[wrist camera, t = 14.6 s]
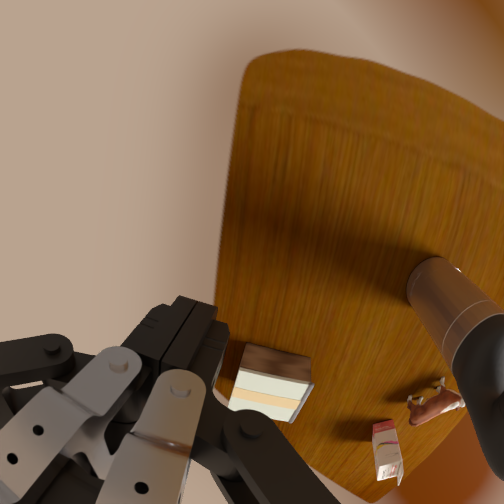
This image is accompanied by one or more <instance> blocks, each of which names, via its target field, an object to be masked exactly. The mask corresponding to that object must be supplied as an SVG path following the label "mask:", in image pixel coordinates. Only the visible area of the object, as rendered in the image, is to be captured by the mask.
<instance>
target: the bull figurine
mask: <svg viewBox="0 0 504 504" xmlns="http://www.w3.org/2000/svg"><path fill="white" fill-rule="evenodd" d="M444 379H445V377H442V378H441V380H440V383H441V386H438V387H437V389H436V391H437V392H438V393H439V394H438V395H436V396H433V397H431V398H429V399H428V398H427V399H426V401H425V403H424V404H423V405H421V406H420V403H421V401H422V399H423V397H420V398H419V400H417V405H414V404H413V403H412V401H411V399H412V395H409V396H408V399H407V401H408V406H407V408H408V409H410V411H411V413H410V418H409V424H410V425H411V426H418V425H420V424H422V423H424V422H427V421H429V420H430V419H432V418H434V417H435V416H438V415H439V414H441V413H444V412H447V411H449V410H450V409H455V408H456V411H458V410H459V408H460V407H464V406H465V402H464V400H463V398H462V396H461V394H460V393H457V392H456V391H454V390H451V389H446V388H445V385H444ZM440 388H441V389H440Z"/></svg>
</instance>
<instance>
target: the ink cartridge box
mask: <svg viewBox="0 0 504 504" xmlns="http://www.w3.org/2000/svg"><path fill="white" fill-rule="evenodd" d="M372 443H373V449H374V456H375V464H376V473H377V481H378V480H383V479H387V478H390V477H394V476H397V478H398V486H399V484H400V481H401V478H402V475H403V463H402V457H401V452H400V447H399V443H398V439H397V434H396V430H395V426H394V422H393V419H392V420H388V421H384V422H380V423H376V424H373V437H372ZM400 473H401V474H400Z"/></svg>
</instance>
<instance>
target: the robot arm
mask: <svg viewBox="0 0 504 504" xmlns="http://www.w3.org/2000/svg"><path fill="white" fill-rule="evenodd" d="M406 294H407V298H408V301H409V303H410V304H411V306H412V307H413V309H414V310H415V312H416V314H417V315H418V317H419V318H420V320H421V322H422V323H423V325H424V326H425V328H426V329H427V331H428V333H429V334H430V336H431V338H432V339H433V341H434V343H435V344H436V346H437V348H438V349H439V351H440V353H441V354H442V356H443V358H444V359H445V361H446V363H447V365H448V366H449V368H450V370H451V372H452V374H453V376H454V377H455V379H456V381H457V385H458V389H459V392H460V394H461V396H462V398H463V400H464V402H465V405H466V407H467V409H468V412H469V414H470V417H471V420H472V422H473V425H474V428H475V431H476V434H477V437H478V440H479V442H480V445H481V448H482V451H483V453H484V456H485V458H486V460H487V462H488V464H489V466H490V468H491V469H492V471H493V472H494V473H495V475H496V476H498V477H499V478H500V479H501V480H503V481H504V311H503V310H502V309H501V308H500V307H499V306H498V305H497V304H496V303H495V302H494V301H493V300H492V299H491V298H490V297H489V296H488V295H486V294H485V293H484V292H483V291H482V290H481V289H480V288H479V287H478V286H477V285H476V284H474V283H473V282H472V281H471V280H470V279H469V278H468V277H466V276H465V275H464V274H463V273H462V272H461V271H460V270H458V269H457V268H456V267H455V266H454V265H452V264H451V263H450V262H449V261H447V260H446V259H444V258H441V257H433V258H429V259H427V260H425V261H423V262H422V263H420V264H419V265H418V266H417V267H416V268H415V269H414V271H413V272H412V273H411V275H410V277H409V280H408V283H407V288H406ZM217 311H218V307H216V306H213V305H210V304H206V303H203V302H200V301H199V302H198V301H196V300H193V299H189V298H186V297H183V296H180V295H179V296H178V297H177V298H176V300H175V301H174V302H173V304H172V305H171V306H169V305H166V304H161V305H158V306H156V307H154V308H152V309H151V310H150V311H149V313H148V314H147V315H146V317H145V318H143V320H142V321H141V322H140V324H139V325H137V327H136V328H135V329H134V330H133V331H132V333H131V334H130V335H129V336H128V337H127V339H126V340H125V341H124V342H123V343H122V345H121V346H114V347H109V348H106V349H104V350H102V351H101V352H100V353H99V354H98V355H97V356H95V355H88V354H84V353H79V352H74V350H73V345H72V343H71V342H70V340H69V339H68V338H67V337H65V336H63V335H60V334H46V335H40V336H35V337H29V338H23V339H17V340H11V341H5V342H0V504H181V502H182V497H183V493H184V488H185V484H186V479H187V475H188V472H189V467H190V463H191V459H193V460H194V461H196V462H197V463H199V464H201V465H202V466H204V467H205V468H207V469H209V470H210V473H211V475H212V477H213V478H214V480H215V482H216V484H217V486H218V487H219V489H220V491H221V492H222V494H223V495H224V497H225V499H226V500H227V502H228V504H341V503H340V502H339V501H338V500H337V499H336V498H335V497H334V496H333V494H332V493H331V492H330V491H329V490H328V489H327V488H326V487H325V485H324V484H323V483H322V482H321V481H320V480H319V478H318V477H317V476H316V475H315V474H314V472H312V470H311V469H310V468H309V466H308V465H307V464H306V463H305V462H304V460H303V459H302V458H301V457H300V455H299V454H298V453H297V452H296V450H295V449H294V448H293V447H292V445H291V444H290V443H289V442H288V440H287V439H286V438H285V436H284V435H283V434H282V432H281V431H280V430H279V429H278V427H277V426H276V425H275V423H274V422H273V421H272V420H271V419H270V418H269V417H268V416H267V415H265V414H264V413H261V412H259V411H256V410H251V409H242V410H237V411H233V410H231V409H229V408H227V407H226V406H224V405H223V404H221V403H220V402H219V401H218V400H217V399H216V398H215V396H214V394H213V389H214V386H215V383H216V380H217V377H218V375H219V372H220V369H221V366H222V363H223V359H224V355H225V351H226V347H227V343H228V339H229V335H230V332H229V328H228V325H227V323H223V322H220V321H217V320H216V316H217ZM41 380H42V382H43V384H42V385H37V386H33V387H27V388H21V389H13V388H11V387H10V386H15V385H20V384H26V383H31V382H36V381H41Z"/></svg>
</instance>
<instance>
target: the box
mask: <svg viewBox="0 0 504 504" xmlns="http://www.w3.org/2000/svg"><path fill="white" fill-rule="evenodd" d="M240 367H241V368H245V369H250V370H254V371H258V372H262V373H267V374H271V375H276V376H281V377H286V378H291V379H296V380H301V381H307V382H311V360H310V358H309V357H305V356H300V355H296V354H292V353H287V352H283V351H279V350H275V349H271V348H267V347H263V346H259V345H255V344H252V343H248V342H247V343H246V346H245V349H244V353H243V356H242V359H241V363H240V366H239V369H240ZM238 372H239V370H238ZM237 375H238V373H237ZM236 378H237V376H236ZM235 382H236V380H235ZM234 385H235V383H234ZM233 388H234V387H233ZM232 392H233V390H232ZM231 395H232V394H231ZM230 398H231V397H230ZM228 405H229V404H228Z"/></svg>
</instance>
